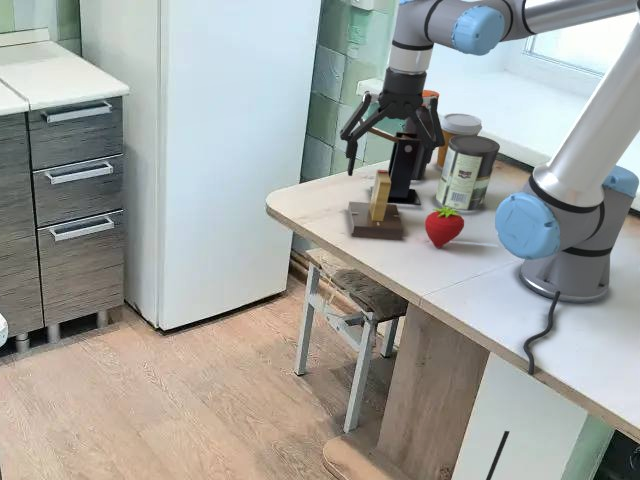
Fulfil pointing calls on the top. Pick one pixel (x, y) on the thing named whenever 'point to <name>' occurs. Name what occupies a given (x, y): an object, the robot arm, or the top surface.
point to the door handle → (382, 133)
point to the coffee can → (467, 171)
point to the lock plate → (375, 222)
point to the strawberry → (443, 226)
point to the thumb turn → (380, 195)
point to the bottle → (427, 122)
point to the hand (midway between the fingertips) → (383, 175)
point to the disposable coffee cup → (456, 130)
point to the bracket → (403, 169)
